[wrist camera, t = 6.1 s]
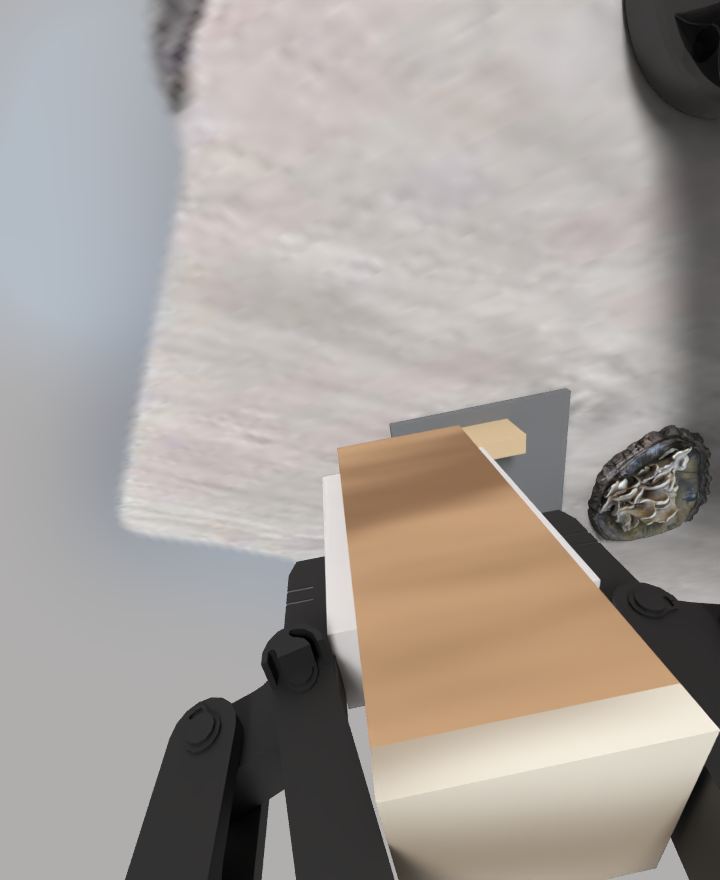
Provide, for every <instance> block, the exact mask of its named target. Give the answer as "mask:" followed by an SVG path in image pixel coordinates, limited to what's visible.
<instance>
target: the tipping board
mask: <svg viewBox="0 0 720 880" xmlns="http://www.w3.org/2000/svg"><path fill="white" fill-rule="evenodd" d="M570 393H571V391H570V390H568V389H566V388H565V389H560V390H555V391H550V392H545V393H540V394H535V395H530V396H525V397H520V398H515V399H510V400H505V401H501V402H496V403H491V404H486V405H481V406H476V407H471V408H466V409H461V410H456V411H451V412H446V413H441V414H436V415H431V416H426V417H421V418H416V419H411V420H406V421H401V422H396V423H391V424H389V425H390V431H391V438H393V437H399V436H404V435H409V434H414V433H420V432H425V431H430V430H436V429H441V428H446V427H451V426H457V425H459V426H460V427H461V428H462V429H463V430H464V432H465V433H466V434H467V435H468V436H469V437H470V439H471V440H472V441H473V442H474V443H475V444H476V446H477V447H483V448H484V449H485V450H486V451H487V452H488V454H489V455H490V456H491V457H492V458H493V459H494V460H495V461H496V463H497V464H498V465H499V466H500V467H501V468H502V469H503V471H504V472H505V473H506V474H507V475H508V476H509V477H510V478H511V480H512V481H513V482H514V483H515V484H516V485H517V486H518V487H519V489H520V490H521V491H522V492H523V493H524V494H525V495H526V496H527V498H528V499H529V500H530V501H531V502H532V503H533V504H534V505H535V507H536V508H537V509H538V510H539V511H540V512H541V513H544V512H549V511H554V510H560V511H561V510H562V497H563V484H564V471H565V458H566V445H567V432H568V419H569V406H570Z"/></svg>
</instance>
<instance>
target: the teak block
mask: <svg viewBox="0 0 720 880" xmlns="http://www.w3.org/2000/svg"><path fill="white" fill-rule="evenodd" d="M337 451H338V460H339V469H340V478H341V487H342V497H343V506H344V515H345V524H346V533H347V542H348V552H349V561H350V570H351V579H352V588H353V597H354V607H355V616H356V625H357V634H358V643H359V653H360V662H361V671H362V680H363V689H364V698H365V708H366V716H367V725H368V735H369V744H370V753H371V763H372V772H373V780H374V790H375V799H376V805H377V808H378V812H379V815H380V819H381V822H382V825H383V829H384V832H385V835H386V839H387V842H388V846H389V849H390V852H391V856H392V859H393V863H394V866H395V869H396V873H397V876H398V879H399V880H605V879H610V878H614V877H619V876H623V875H628V874H632V873H637V872H641V871H646V870H650V869H655V868H656V867H657V865H658V863H659V861H660V859H661V857H662V855H663V852H664V850H665V848H666V846H667V844H668V841H669V839H670V837H671V835H672V833H673V831H674V829H675V826H676V824H677V822H678V820H679V818H680V816H681V814H682V811H683V809H684V807H685V805H686V803H687V801H688V798H689V796H690V794H691V792H692V790H693V788H694V786H695V783H696V781H697V779H698V777H699V775H700V773H701V770H702V768H703V766H704V764H705V762H706V760H707V758H708V755H709V753H710V751H711V749H712V747H713V745H714V742H715V740H716V738H717V736H718V734H719V732H720V729H719V728H718V727H717V726H716V725H715V723H714V722H713V721H712V720H711V719H710V718H709V716H708V715H707V714H706V713H705V712H704V711H703V709H702V708H701V707H700V706H699V705H698V704H697V702H696V701H695V700H694V699H693V698H692V697H691V695H690V694H689V693H688V692H687V691H686V690H685V688H684V687H683V686H682V685H681V684H680V683H679V681H678V680H677V679H676V678H675V677H674V676H673V674H672V673H671V672H670V671H669V670H668V669H667V667H666V666H665V665H664V664H663V663H662V662H661V660H660V659H659V658H658V657H657V656H656V655H655V653H654V652H653V651H652V650H651V649H650V648H649V646H648V645H647V644H646V643H645V642H644V641H643V639H642V638H641V637H640V636H639V635H638V634H637V632H636V631H635V630H634V629H633V628H632V627H631V625H630V624H629V623H628V622H627V621H626V620H625V618H624V617H623V616H622V615H621V614H620V613H619V611H618V610H617V609H616V608H615V607H614V606H613V604H612V603H611V602H610V601H609V600H608V599H607V597H606V596H605V595H604V594H603V593H602V592H601V590H600V589H599V588H598V587H597V586H596V585H595V583H594V582H593V581H592V580H591V579H590V578H589V576H588V575H587V574H586V573H585V572H584V571H583V569H582V568H581V567H580V566H579V565H578V564H577V562H576V561H575V560H574V559H573V558H572V557H571V555H570V554H569V553H568V552H567V551H566V550H565V548H564V547H563V546H562V545H561V544H560V543H559V541H558V540H557V539H556V538H555V537H554V536H553V534H552V533H551V532H550V531H549V530H548V529H547V527H546V526H545V525H544V524H543V523H542V522H541V520H540V519H539V518H538V517H537V516H536V514H535V513H534V512H533V511H532V510H531V509H530V507H529V506H528V505H527V504H526V503H525V502H524V500H523V499H522V498H521V497H520V496H519V495H518V493H517V492H516V491H515V490H514V489H513V488H512V486H511V485H510V484H509V483H508V482H507V481H506V479H505V478H504V477H503V476H502V475H501V474H500V472H499V471H498V470H497V469H496V468H495V467H494V465H493V464H492V463H491V462H490V461H489V460H488V458H487V457H486V456H485V455H484V454H483V453H482V451H481V450H480V449H479V448H478V447H477V446H476V444H475V443H474V442H473V441H472V440H471V439H470V437H469V436H468V435H467V434H466V433H465V432H464V430H463V429H462V428H461V427H460V426H459V425H457V426H451V427H446V428H441V429H436V430H430V431H425V432H420V433H414V434H409V435H404V436H399V437H393V438H388V439H383V440H378V441H372V442H367V443H362V444H356V445H351V446H346V447H341V448H337Z"/></svg>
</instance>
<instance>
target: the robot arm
mask: <svg viewBox="0 0 720 880" xmlns="http://www.w3.org/2000/svg"><path fill="white" fill-rule="evenodd" d="M625 4H626V14H627V22H628V28H629V33H630V38H631V42H632V45H633V49H634V52H635V55H636V57H637V60H638V63H639V65H640V67H641V69H642V71H643V73H644V75H645V77H646V78H647V80H648V82H649V83H650V84H651V86H652V87H653V89H654V90H655V91H656V92H657V93H658V94H659V95H660V96H661V97H662V98H663V99H664V100H665V101H666V102H667V103H669V104H670V105H671V106H673V107H674V108H676V109H678V110H680V111H682V112H684V113H686V114H689V115H692V116H696V117H701V118H711V119H715V118H720V0H625ZM478 448H479V449H480V450H481V451H482V453H483V454H484V455H485V456H486V457H487V458H488V460H489V461H490V462H491V463H492V464H493V465H494V467H495V468H496V469H497V470H498V471H499V472H500V474H501V475H502V476H503V477H504V478H505V479H506V481H507V482H508V483H509V484H510V485H511V486H512V488H513V489H514V490H515V491H516V492H517V493H518V495H519V496H520V497H521V498H522V499H523V500H524V502H525V503H526V504H527V505H528V506H529V507H530V509H531V510H532V511H533V512H534V513H535V514H536V516H537V517H538V518H539V519H540V520H541V522H542V523H543V524H544V525H545V526H546V527H547V529H548V530H549V531H550V532H551V533H552V534H553V536H554V537H555V538H556V539H557V540H558V541H559V543H560V544H561V545H562V546H563V547H564V548H565V550H566V551H567V552H568V553H569V554H570V555H571V557H572V558H573V559H574V560H575V561H576V562H577V564H578V565H579V566H580V567H581V568H582V569H583V571H584V572H585V573H586V574H587V575H588V576H589V578H590V579H591V580H592V581H593V582H594V583H595V585H596V586H597V587H598V588H599V589H600V590H601V592H602V593H603V594H604V595H605V596H606V597H607V599H608V600H609V601H610V602H611V603H612V604H613V606H614V607H615V608H616V609H617V610H618V611H619V613H620V614H621V615H622V616H623V617H624V618H625V620H626V621H627V622H628V623H629V624H630V625H631V627H632V628H633V629H634V630H635V631H636V632H637V634H638V635H639V636H640V637H641V638H642V639H643V641H644V642H645V643H646V644H647V645H648V646H649V648H650V649H651V650H652V651H653V652H654V653H655V655H656V656H657V657H658V658H659V659H660V660H661V662H662V663H663V664H664V665H665V666H666V667H667V669H668V670H669V671H670V672H671V673H672V674H673V676H674V677H675V678H676V679H677V680H678V681H679V683H680V684H681V685H682V686H683V687H684V688H685V690H686V691H687V692H688V693H689V694H690V695H691V697H692V698H693V699H694V700H695V701H696V702H697V704H698V705H699V706H700V707H701V708H702V709H703V711H704V712H705V713H706V714H707V715H708V716H709V718H710V719H711V720H712V721H713V722H714V723H715V725H716V726H717V727H718V728H719V729H720V604H707V603H694V602H685V601H678V600H677V599H676V598H675V597H674V596H673V595H671V594H669V593H668V592H666V591H664V590H663V589H661V588H659V587H656V586H653V585H650V584H647V583H640V582H639V581H638V580H636V579H635V578H634V577H633V576H632V575H631V574H630V573H629V572H628V571H627V570H626V569H625V568H624V567H623V566H622V565H621V564H620V563H619V562H618V561H617V560H616V559H615V558H614V557H613V556H612V555H611V554H610V553H609V552H608V551H607V550H606V549H605V548H604V547H603V546H602V545H601V544H600V543H598V542H597V540H596V539H595V538H594V537H593V536H592V535H591V534H590V533H588V531H587V530H586V529H585V528H584V527H583V526H582V525H581V524H580V523H579V522H578V521H577V520H576V519H575V518H573V517H572V516H570V515H568V514H566V513H564V512H562V511H560V510H554V511H549V512H544V513H541V512H540V511H539V510H538V509H537V508H536V507H535V505H534V504H533V503H532V502H531V501H530V500H529V499H528V498H527V496H526V495H525V494H524V493H523V492H522V491H521V490H520V489H519V487H518V486H517V485H516V484H515V483H514V482H513V481H512V480H511V478H510V477H509V476H508V475H507V474H506V473H505V472H504V471H503V469H502V468H501V467H500V466H499V465H498V464H497V463H496V461H495V460H494V459H493V458H492V457H491V456H490V455H489V454H488V452H487V451H486V450H485V449H484V448H483V447H478ZM323 507H324V541H325V556H324V557H319V558H314V559H309V560H304V561H299V562H296V564H295V566H294V568H293V569H292V571H291V573H290V575H289V581H288V590H287V591H288V594H287V602H286V604H287V606H286V613H285V626H284V629H282V630H280V631H278V632H277V633H276V634H275V635H274V636H273V637H272V638H271V639H270V640H269V641H268V643H267V645H266V647H265V649H264V651H263V653H262V662H261V665H262V668H263V670H264V672H265V675H266V677H267V679H268V681H267V682H266V683H265V684H264V685H263V686H261V687H260V688H258V689H257V690H256V691H254V692H252V693H251V694H249V695H247V696H245V697H243V698H241V699H239V700H238V701H236V702H234V703H232V704H231V703H230V702H229V701H227V700H225V699H224V698H209V699H206V700H204V701H201V702H199V703H198V704H196V705H195V706H193V707H192V708H191V709H189V710H188V711H187V712H186V713H185V714H184V716H183V717H182V718H181V719H180V720H179V722H178V723H177V724H176V726H175V729H174V730H173V733H172V735H171V737H170V739H169V742H168V745H167V749H166V752H165V755H164V758H163V761H162V764H161V768H160V771H159V774H158V777H157V781H156V784H155V787H154V790H153V793H152V796H151V799H150V802H149V806H148V809H147V812H146V816H145V818H144V821H143V825H142V828H141V831H140V834H139V837H138V840H137V844H136V847H135V850H134V853H133V857H132V859H131V863H130V866H129V869H128V872H127V875H126V878H125V880H261V879H262V869H263V858H264V848H265V837H266V827H267V817H268V806H269V799H270V798H272V797H273V796H275V795H276V794H278V793H279V792H281V791H282V790H284V789H285V797H286V804H287V812H288V820H289V828H290V835H291V843H292V851H293V858H294V866H295V874H296V880H394V876H393V873H392V870H391V866H390V863H389V859H388V856H387V853H386V849H385V846H384V842H383V839H382V836H381V832H380V829H379V825H378V822H377V818H376V815H375V811H374V808H373V805H372V801H371V798H370V794H369V791H368V787H367V784H366V781H365V777H364V774H363V770H362V767H361V763H360V760H359V757H358V753H357V750H356V746H355V743H354V740H353V736H352V733H351V729H350V726H349V723H348V714H347V704H348V708H349V709H351V708H356V707H360V706H365V698H364V689H363V680H362V671H361V662H360V653H359V643H358V634H357V625H356V616H355V607H354V597H353V588H352V579H351V570H350V561H349V552H348V542H347V533H346V524H345V515H344V506H343V497H342V487H341V478H340V474H337V475H331V476H326V477H323ZM671 839H672V841H673V843H674V846H675V848H676V850H677V853H678V855H679V857H680V860H681V862H682V864H683V866H684V869H685V871H686V873H687V876H688V878H689V880H720V732H719V734H718V736H717V738H716V740H715V742H714V745H713V747H712V749H711V751H710V753H709V755H708V758H707V760H706V762H705V764H704V766H703V768H702V770H701V773H700V775H699V777H698V779H697V781H696V783H695V786H694V788H693V790H692V792H691V794H690V796H689V798H688V801H687V803H686V805H685V807H684V809H683V811H682V814H681V816H680V818H679V820H678V822H677V824H676V826H675V829H674V831H673V833H672V835H671Z"/></svg>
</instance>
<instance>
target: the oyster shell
mask: <svg viewBox="0 0 720 880" xmlns="http://www.w3.org/2000/svg"><path fill="white" fill-rule="evenodd" d="M710 456H711V453H710V450H709V449H708V448H706V447H705V446H704V445H703V439H702V437H701V436H700V435H699V433H690V432H689V430H686V429H684V428H680V429H679V428H677V427H676V426H675V425H673V426H672V425H669V426H667V427H665V428H663V429H662V430H661V431H660V432H656V431H652V432H650V433H648V434H646V435H645V436H644V437H643V438H642V439H640V440H639V441H637V442H634V443H632V444H631V445H629V446H628V447H627V449H626V450H624V451H622V452H620V453H618V454H616V455H615V456H614V457H613V458H612V459H611V460H610V461H608V463H606V464H605V465H604V466H603V469H602V471H601V472H600V473H599V474H598V475H597V478H596V483H595V485H594V487H593V491H592V496H591V498H590V500H589V501H588V505H589V509H588V516H589V519H590V521H591V523H592V525H593V527H594V529H595V530H596V531H597V533H598V534H599V535H600V536H602V537H603V538H604V539H606V540H615V541H632V540H635V539H639V538H646V537H650V536H654V535H657V534H662V533H663V532H666V531H669V530H672V529H674V528H676V527H678V526H680V525H681V524H682V523H683V522H685V521H691V520H692V519H693V515H695V514H696V513H697V512H698V510H699V507H700V506H701V505H702V504H704V503H706V502H707V497H706V495H708V494H710V490H709V482H710V481H711V480H712V477H711V476H710V475H709V472H708V468H709V466H710V463H709V461H708V459H707V458H709V457H710Z"/></svg>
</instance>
